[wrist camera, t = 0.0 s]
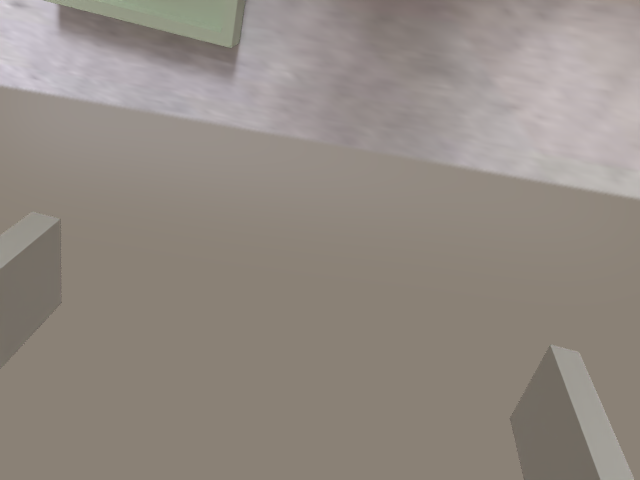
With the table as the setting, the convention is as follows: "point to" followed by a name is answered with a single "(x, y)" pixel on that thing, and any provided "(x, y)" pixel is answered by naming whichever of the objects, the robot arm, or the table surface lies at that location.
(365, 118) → the table surface
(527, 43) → the table surface
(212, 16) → the tray
